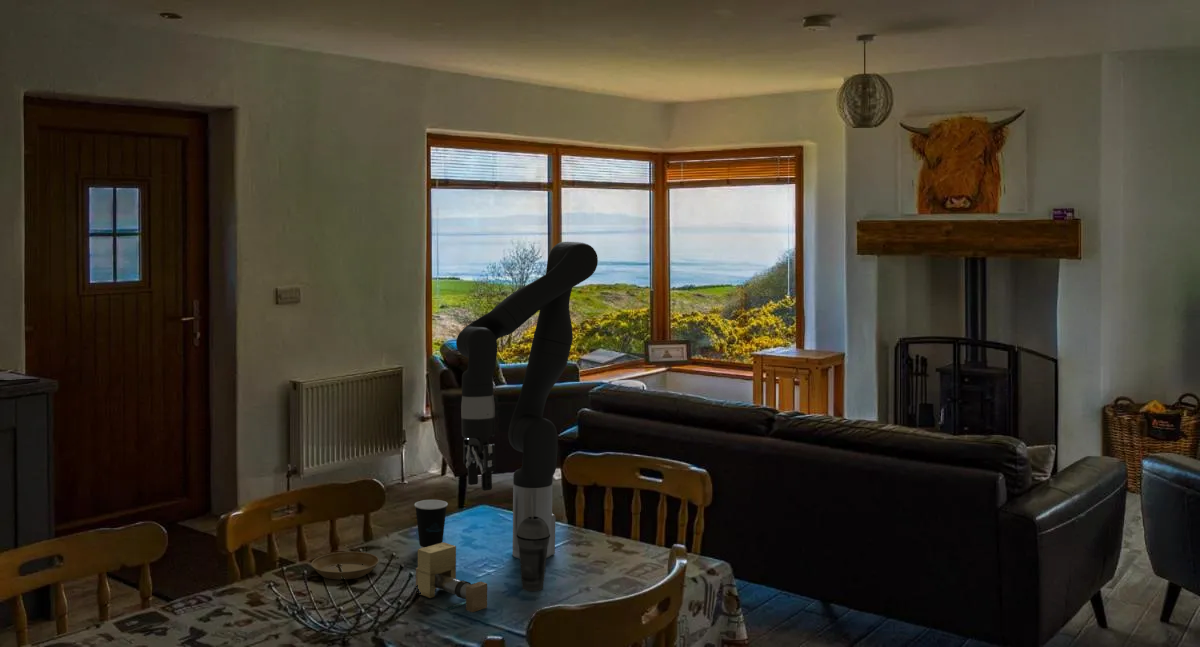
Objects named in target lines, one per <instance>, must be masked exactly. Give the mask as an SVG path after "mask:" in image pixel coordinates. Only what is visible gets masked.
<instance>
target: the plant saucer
mask: <svg viewBox="0 0 1200 647" xmlns="http://www.w3.org/2000/svg"><path fill="white" fill-rule="evenodd" d="M379 562H380V559H379V557H378V556H377V555H374V554H372V553H369V552H365V551H364V552H362V551H338V552H333V553H328V554H322V555H320V556H318V557H316V558H315V559H313V560H312V561H311V564H310V565H311V568H313V569H314V571H316V572H317V573H318V574H319V575H320V576H321V577H323V578H326V579H329V580H330V579H331V580H338V581H339V580H341V579H342V578H341V574H342V576H343V577H344V578H345V580H352V579H353V580H354V579H358V578H361V577H365V576H367V575H368V574H370V573H371V572H372V570H375V569H374V568H376V567H377V565H378V564H379ZM335 564H342V565H343V566H342V569H343V572H338V569H336V568H335V569H334V571H333V570H331V569H330V567H329V568H328V566H331V565H335ZM362 564H363V565H362ZM326 568H327V569H328V570H327V569H326ZM366 574H367V575H366Z"/></svg>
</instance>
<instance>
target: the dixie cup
mask: <svg viewBox="0 0 1200 647" xmlns="http://www.w3.org/2000/svg"><path fill="white" fill-rule="evenodd" d="M448 505H449V503H448V502H447V501H445V500H441V499H423V500H420V501H416V502H415V503H414V507H415V516H416V523H417V524H416V525H417V533H418V543H419V546H420V549H421V548H424V547H428V546H432V545H435V544H439V543H443V540H444V531H445V525H446V524H445V523H446V516H447V515H446V514H447V507H448Z"/></svg>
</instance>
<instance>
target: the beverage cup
mask: <svg viewBox="0 0 1200 647" xmlns="http://www.w3.org/2000/svg"><path fill="white" fill-rule="evenodd" d="M549 537H550V533H549V527H548V525H547V523H546V522H545V521H544V520H543V519H541V518H539V517H536V516H534V515H533V496H531V517H528V518H526V519H524V520H523V521H522V522H521V524H520V525H519V528H518V532H517V540H518V545H519V553H520V559H519V564H520V577H521V580H520V581H521V585H522V587H521V588H522V590H524V591H527V592H538V591H541V590H543V589H544V582H545V576H546V566H547V558H546V557H547V547H548V544H549Z"/></svg>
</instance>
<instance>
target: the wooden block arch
mask: <svg viewBox="0 0 1200 647" xmlns="http://www.w3.org/2000/svg"><path fill="white" fill-rule="evenodd" d="M417 568H418V589H419V591H420V592H421V594H420V595H421V596H423V597H425V598H429V599H431V598H434V597H435V596H436V589H435V574H438V573H440V574H443V575H446V576H449V577H452V578H454V579H456V578H457V577H456V576H457V574H456V573H457V546H456V545H454V544H449V543H447V542H442V543H439V544H435V545H432V546H428V547H424V548H421V547H420V548H417Z"/></svg>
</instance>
